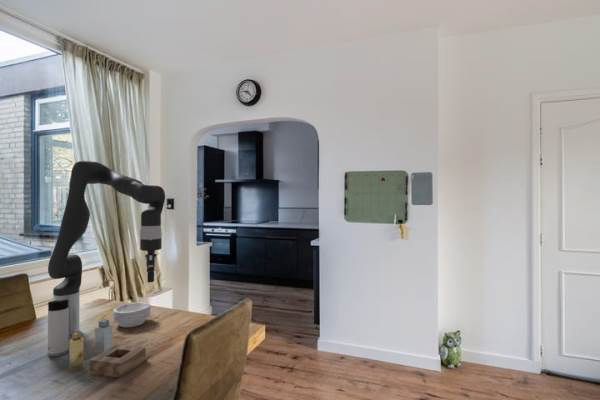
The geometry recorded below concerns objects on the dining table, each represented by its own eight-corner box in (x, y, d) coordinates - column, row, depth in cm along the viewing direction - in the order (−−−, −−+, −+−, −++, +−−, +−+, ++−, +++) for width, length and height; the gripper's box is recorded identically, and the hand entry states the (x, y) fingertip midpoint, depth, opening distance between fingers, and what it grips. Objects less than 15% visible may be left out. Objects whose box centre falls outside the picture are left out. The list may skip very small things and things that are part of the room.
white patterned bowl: (118, 319, 159) (118, 302, 159) (153, 317, 162) (153, 300, 162) (108, 331, 144) (108, 313, 144) (146, 329, 147) (146, 311, 147)
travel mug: (45, 358, 120) (46, 303, 120) (49, 351, 125) (49, 298, 125) (67, 355, 123) (67, 300, 122) (69, 347, 128) (69, 296, 128)
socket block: (89, 373, 110) (89, 360, 110) (116, 356, 122) (116, 344, 122) (121, 377, 107) (121, 363, 107) (145, 359, 119) (145, 347, 119)
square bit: (94, 354, 123) (95, 322, 123) (103, 349, 127) (103, 318, 127) (104, 355, 123) (104, 322, 122) (112, 350, 126) (112, 319, 126)
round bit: (66, 370, 112) (66, 335, 111) (76, 364, 115) (76, 330, 115) (76, 372, 111) (76, 336, 111) (86, 366, 115) (86, 331, 115)
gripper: (141, 235, 133) (140, 276, 133) (139, 239, 120) (139, 284, 120) (161, 235, 136) (161, 274, 136) (161, 239, 123) (161, 282, 123)
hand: (150, 279), depth 128 cm, fingers open, 8 cm apart
